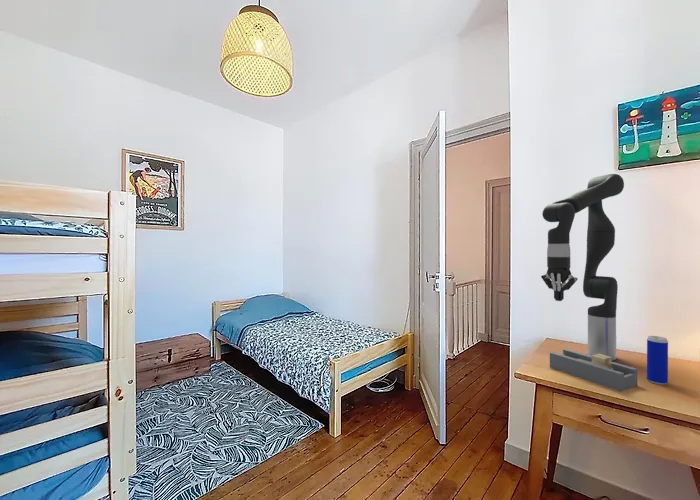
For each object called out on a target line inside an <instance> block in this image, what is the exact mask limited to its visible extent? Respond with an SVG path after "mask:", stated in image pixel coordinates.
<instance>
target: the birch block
mask: <svg viewBox="0 0 700 500" xmlns="http://www.w3.org/2000/svg"><path fill="white" fill-rule="evenodd" d="M611 362H612V361H611V357H609V356H605V355H601V354H595V355H592V364H595V365H599V366H602V367H605V368H609V369H611Z"/></svg>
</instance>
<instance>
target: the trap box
mask: <svg viewBox="0 0 700 500" xmlns="http://www.w3.org/2000/svg"><path fill="white" fill-rule="evenodd" d="M549 368H551V369H555V370H557V371H559V372H563V373H566V374H568V375H572V376H574V377H576V378H581V379H583V380H586V381H589V382H591V383H595V384H598V385H601V386H604V387H606V388H610V389H612V390H615V391H618V392H623V391H625V390H628V389H632V388H634V387H636V386H638V370H639V369H638V368H636V367H632V366H629V365H625V364H621V363H618V362H614V361H611V369H609V368H605V367H602V366H599V365H595V364H592V356H590V355H588V354H585V353H582V352H578V351H575V350H571V349H568V348H565V349H562V353H557V352H555V351H551V352H549Z"/></svg>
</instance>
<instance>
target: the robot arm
mask: <svg viewBox="0 0 700 500" xmlns="http://www.w3.org/2000/svg"><path fill="white" fill-rule="evenodd" d="M624 187H625V181H624V178H623V177H622V176H621V175H620V174H617V173H609V174H604V175H599V176H594V177H591V178H590V179H589V181H588V184H587V188H586V189H582V190H579V191H577V192H574V193H573V194H571V195H569V196H568V197H566V198H564V199H559V200H556V201H554V202H552V203H548V204H547V205H546V206H544V208H543V210H542V212H541V213H542V217H543V219H544V220H545V221H546V222H547V223H558V224H557V226H556V227H553V228H551V229H549V230H548V231H547V248H546V249H547V251H546V257H547V258H546V263H547V264H546V267H547V270H546V273H545V274H543V275H540V276H541V277H540V278H541V279H542V281H543V282H544V283H545V285H546V286H547V288H548V289H549V290H552V291H553V299H554V301H556V302H562V301H563V300H564V296H565V293H564V291H569V290H571V288H572V286H573V285H574V284H575V283H576V282H577V281H578V277H575V276H573V275H572V272H571V245H570V240H571V239H570V233H571V229H572V226H573V222H574V219H575V215H576V214H577V213H579V212H581V211H583V210H584V209H586V208H587V211H588V212H587V215H588V217H587V230H586V232H587V233H586V255H585V256H586V259H585V260H586V261H585V267H584V275H583V281H582V283H583V284H582V292H583V296H585V297H586V298H590V299H591V298H592V299H598V300H599V299H600V300H603V303H602V304H599V305H594V306H593V305H592V306H589V307H588V308H587V355H590V356H592V355H595V354H601V355H605V356H609V357H611V362H614V361H616V359H617V305H618V304H617V302H618V287H619V286H618V285H619V284H618V281H617V279H616V278H615V277H613V276H603V275H597V271H598V269H599V266H600V264H601V263H602V261H603V260H604V259H605V258H606V257H607V255H608V254H609V253H610V252H611V251H612V249H613V248H614V246H615V241H616V238H615V237H616V229H615V226H614V224H613V222H612V221H611V220H610V218H609V217H608V216H607V214H606V213H605V211H604V208H603V200H605V199H609V198H611V197H612V198H613V197H615V196H618V195H620V194H621V193H622V192H623V191H624Z"/></svg>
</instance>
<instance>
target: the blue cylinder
mask: <svg viewBox="0 0 700 500" xmlns="http://www.w3.org/2000/svg"><path fill="white" fill-rule="evenodd" d="M646 379H647V381H648V382H650V383H652V384H656V385H662V386H664V385H667V384H668V383H669V341H668V339H667V338H666V337H662V336H659V335H648V336H647V339H646Z"/></svg>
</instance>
